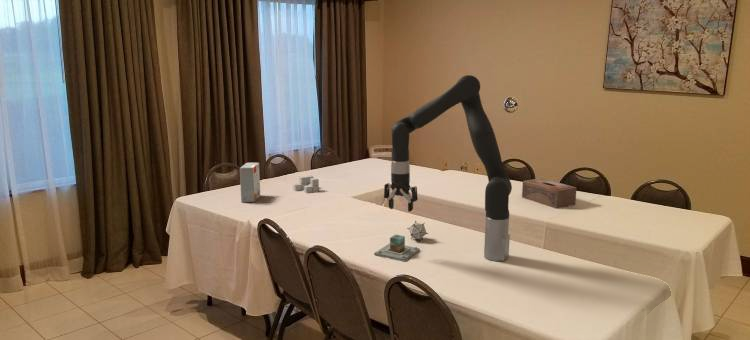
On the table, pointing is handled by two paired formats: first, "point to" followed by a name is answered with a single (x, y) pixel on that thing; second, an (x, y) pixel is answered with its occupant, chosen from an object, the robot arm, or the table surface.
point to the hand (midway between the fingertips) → (400, 209)
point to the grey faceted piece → (417, 230)
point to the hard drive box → (250, 182)
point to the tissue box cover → (549, 193)
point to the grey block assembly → (307, 184)
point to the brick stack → (397, 243)
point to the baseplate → (397, 256)
